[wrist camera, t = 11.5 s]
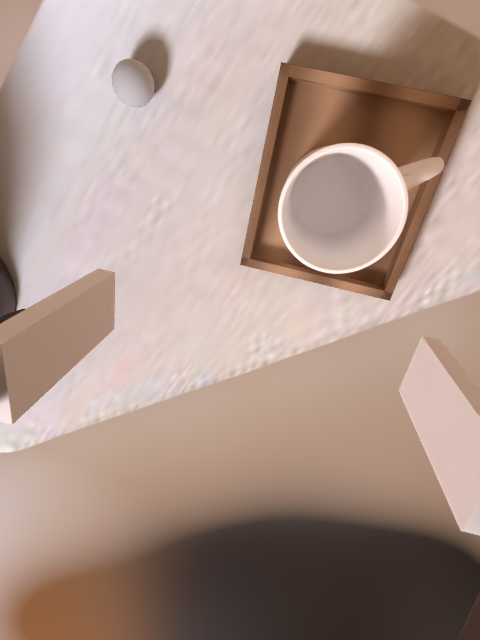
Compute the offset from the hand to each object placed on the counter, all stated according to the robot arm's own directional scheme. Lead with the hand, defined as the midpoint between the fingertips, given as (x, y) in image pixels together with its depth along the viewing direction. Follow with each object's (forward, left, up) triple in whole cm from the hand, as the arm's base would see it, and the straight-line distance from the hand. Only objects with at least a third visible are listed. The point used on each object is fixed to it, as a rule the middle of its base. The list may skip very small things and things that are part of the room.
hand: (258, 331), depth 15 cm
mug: (+5, +5, -23) cm, 24 cm away
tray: (+4, +5, -23) cm, 24 cm away
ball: (-16, +10, -23) cm, 30 cm away
